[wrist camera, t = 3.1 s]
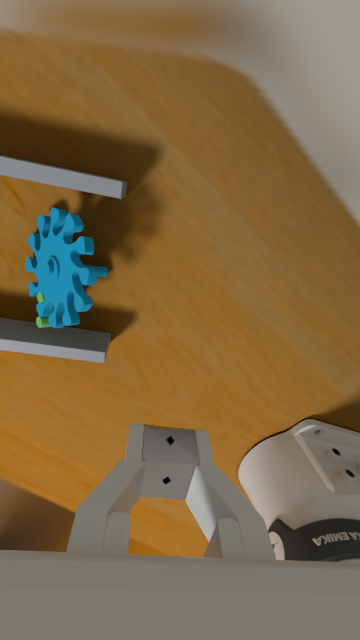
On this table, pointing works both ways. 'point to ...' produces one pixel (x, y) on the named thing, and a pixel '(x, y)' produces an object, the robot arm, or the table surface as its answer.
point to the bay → (51, 339)
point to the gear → (61, 269)
